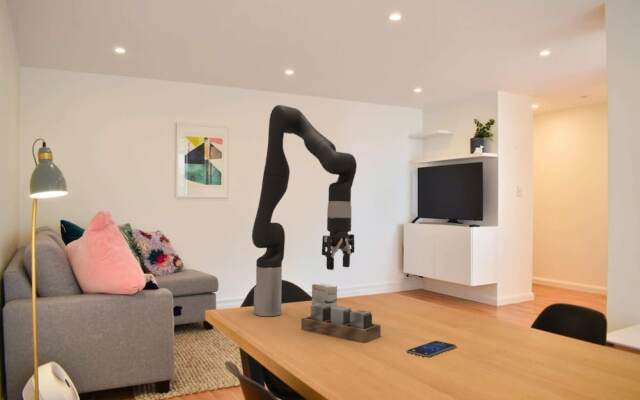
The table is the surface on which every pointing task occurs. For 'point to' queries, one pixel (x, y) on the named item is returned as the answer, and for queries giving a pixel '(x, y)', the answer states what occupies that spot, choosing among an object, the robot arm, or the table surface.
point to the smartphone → (431, 349)
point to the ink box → (324, 295)
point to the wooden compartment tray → (355, 330)
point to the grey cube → (340, 315)
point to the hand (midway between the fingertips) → (338, 268)
